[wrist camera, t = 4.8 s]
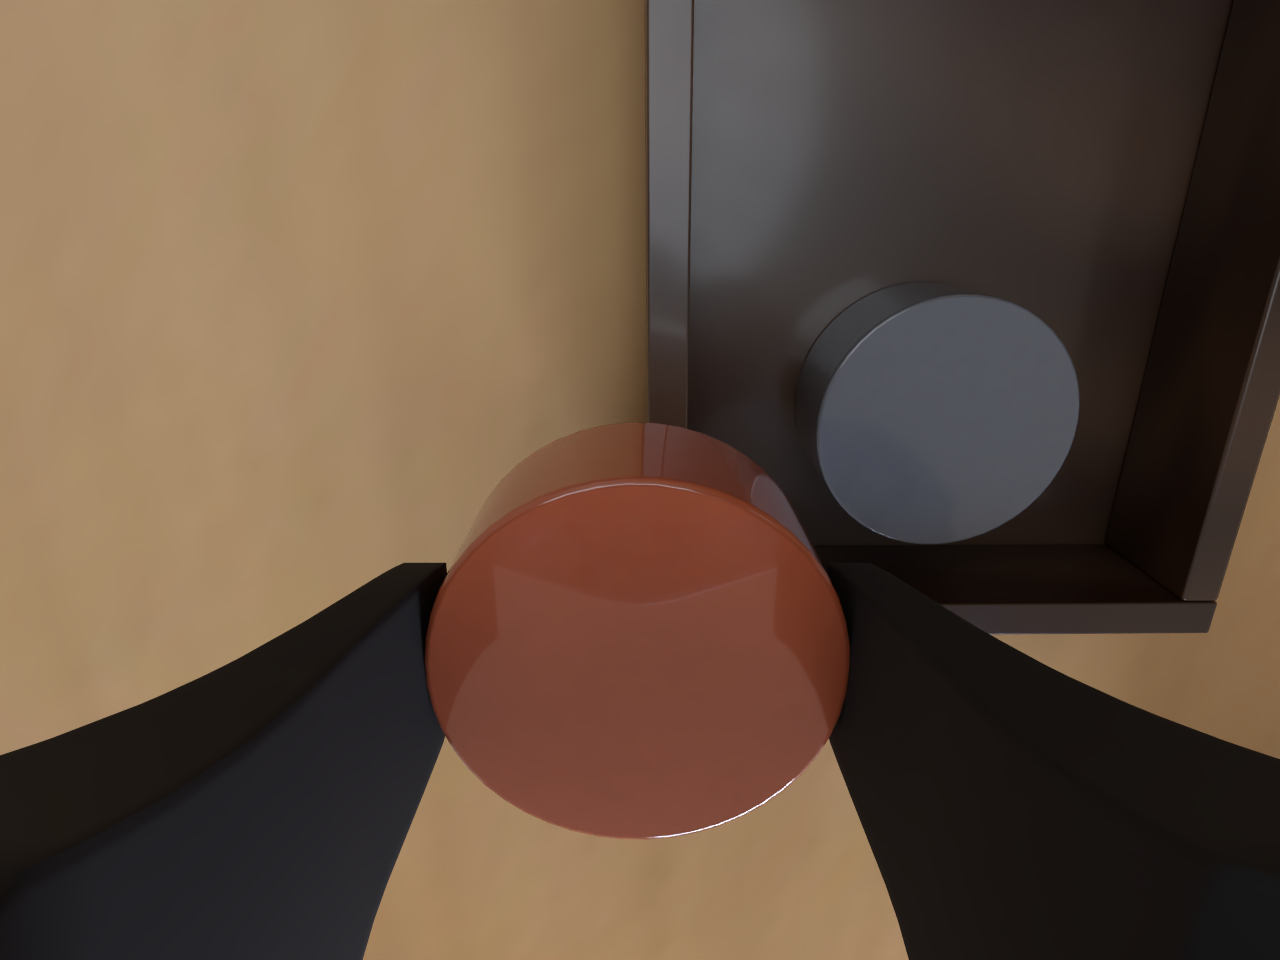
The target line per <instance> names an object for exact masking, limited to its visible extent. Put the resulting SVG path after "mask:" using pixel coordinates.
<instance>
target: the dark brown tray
mask: <svg viewBox="0 0 1280 960" xmlns="http://www.w3.org/2000/svg"><path fill="white" fill-rule="evenodd" d="M645 149H646V355H647V423H657V424H664V425H671V426H677V427H682V428H685V429H689V430H692V431H696V432H699V433H703V434H705V435H708V436H710V437H712V438H715V439H717V440H719V441H722V442H724V443H726V444H728V445H729V446H731V447H733V448H734V449H736V450H738V451H739V452H741V453H743V454H745V455H746V456H747V457H749V458H750V459H751V460H752V461H754V462H755V463H756V464H757V465H759V466H760V467H761V468H762V469H764V470H765V471H766V472H767V473H768V475H769V476H770V477H771V478H772V479H773V480H774V481H775V482H776V483H777V484H778V485H779V486H780V487H781V489H782V490H783V492H784V493H785V494H786V496H787V497H788V499H789V500H790V501H791V503H792V504H793V506H794V508H795V510H796V512H797V514H798V516H799V518H800V520H801V522H802V524H803V526H804V528H805V530H806V532H807V534H808V536H809V538H810V540H811V542H812V544H813V546H814V548H815V550H816V552H817V554H818V556H819V558H820V560H821V562H822V564H823V566H824V568H825V570H826V572H827V564H828V563H871V564H873V565H876V566H878V567H880V568H881V569H883V570H885V571H887V572H889V573H890V574H892V575H894V576H895V577H897V578H899V579H900V580H902V581H904V582H905V583H907V584H908V585H910V586H912V587H913V588H915V589H916V590H918V591H919V592H921V593H923V594H924V595H926V596H927V597H929V598H931V599H932V600H934V601H935V602H937V603H939V604H940V605H942V606H943V607H945V608H946V609H948V610H950V611H951V612H953V613H955V614H956V615H958V616H959V617H961V618H963V619H964V620H966V621H968V622H969V623H971V624H973V625H974V626H976V627H978V628H979V629H981V630H983V631H985V632H986V633H988V634H1102V633H1207V632H1208V631H1209V628H1210V625H1211V621H1212V618H1213V615H1214V612H1215V608H1216V605H1217V603H1216V602H1215V600H1216V599H1217V598H1218V595H1219V592H1220V588H1221V585H1222V582H1223V579H1224V575H1225V572H1226V569H1227V566H1228V562H1229V559H1230V556H1231V552H1232V549H1233V546H1234V543H1235V539H1236V536H1237V533H1238V530H1239V526H1240V523H1241V520H1242V517H1243V513H1244V510H1245V507H1246V503H1247V500H1248V497H1249V494H1250V490H1251V487H1252V484H1253V481H1254V477H1255V474H1256V471H1257V467H1258V464H1259V461H1260V458H1261V454H1262V451H1263V448H1264V445H1265V441H1266V438H1267V435H1268V432H1269V428H1270V425H1271V422H1272V418H1273V415H1274V412H1275V409H1276V405H1277V402H1278V399H1279V396H1280V0H645ZM911 282H940V283H946V284H952V285H956V286H959V287H963V288H967V289H970V290H974V291H977V292H981V293H985V294H988V295H992V296H996V297H999V298H1002V299H1006V300H1009V301H1012V302H1014V303H1016V304H1018V305H1020V306H1023V307H1025V308H1027V309H1028V310H1030V311H1031V312H1033V313H1034V314H1036V315H1037V316H1039V317H1040V318H1041V319H1042V320H1043V321H1045V322H1046V323H1047V324H1048V325H1049V326H1050V327H1051V328H1052V329H1053V330H1054V332H1055V333H1056V334H1057V335H1058V337H1059V338H1060V339H1061V341H1062V342H1063V344H1064V346H1065V347H1066V349H1067V351H1068V353H1069V355H1070V357H1071V360H1072V363H1073V365H1074V368H1075V371H1076V375H1077V380H1078V385H1079V399H1080V407H1079V417H1078V424H1077V428H1076V432H1075V437H1074V440H1073V442H1072V445H1071V448H1070V450H1069V453H1068V455H1067V457H1066V459H1065V461H1064V463H1063V465H1062V467H1061V468H1060V470H1059V471H1058V473H1057V474H1056V476H1055V477H1054V479H1053V480H1052V482H1051V483H1050V484H1049V485H1048V487H1047V488H1046V489H1045V490H1044V491H1043V493H1042V494H1041V495H1040V496H1039V497H1038V498H1037V499H1036V500H1035V501H1034V502H1033V503H1032V504H1030V505H1029V506H1028V507H1027V508H1026V509H1025V510H1023V511H1022V512H1021V513H1019V514H1018V515H1017V516H1015V517H1014V518H1013V519H1011V520H1009V521H1008V522H1006V523H1004V524H1003V525H1001V526H999V527H997V528H995V529H993V530H991V531H989V532H986V533H984V534H982V535H979V536H976V537H973V538H970V539H966V540H962V541H957V542H953V543H944V544H915V543H907V542H901V541H898V540H894V539H890V538H887V537H885V536H882V535H880V534H877V533H875V532H873V531H871V530H870V529H868V528H866V527H864V526H863V525H861V524H860V523H858V522H857V521H856V520H855V519H853V518H852V517H851V516H850V515H849V514H848V513H847V512H846V511H845V510H844V509H843V508H842V507H841V506H840V505H839V504H838V502H837V501H836V499H835V498H834V496H833V495H832V494H831V492H830V491H829V489H828V488H827V486H826V485H825V483H824V481H823V480H822V478H821V477H820V475H819V474H818V472H817V471H816V469H815V468H814V466H813V465H812V463H811V462H810V460H809V458H808V456H807V454H806V452H805V450H804V449H803V447H802V444H801V441H800V438H799V435H798V430H797V425H796V419H795V398H796V389H797V385H798V381H799V376H800V373H801V371H802V368H803V365H804V362H805V360H806V358H807V356H808V354H809V352H810V350H811V348H812V347H813V345H814V344H815V342H816V341H817V339H818V338H819V336H820V335H821V334H822V333H823V331H824V330H825V329H826V328H827V327H828V326H829V324H830V323H831V322H832V321H833V320H834V319H836V318H837V317H838V316H839V315H840V314H841V313H842V312H843V311H845V310H846V309H847V308H849V307H850V306H852V305H853V304H854V303H856V302H857V301H859V300H861V299H863V298H865V297H866V296H868V295H870V294H872V293H875V292H877V291H880V290H882V289H885V288H887V287H891V286H895V285H899V284H903V283H911Z"/></svg>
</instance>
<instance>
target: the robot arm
mask: <svg viewBox="0 0 1280 960" xmlns="http://www.w3.org/2000/svg"><path fill="white" fill-rule="evenodd" d="M827 574H828V576H829V578H830V580H831V582H832V584H833V586H834V588H835V590H836V592H837V594H838V596H839V599H840V602H841V605H842V608H843V611H844V614H845V617H846V620H847V626H848V632H849V638H850V666H849V675H848V683H847V691H846V696H845V700H844V703H843V706H842V710H841V713H840V716H839V718H838V720H837V722H836V724H835V727H834V729H833V731H832V733H831V735H830V737H829V740H830V743H831V746H832V749H833V751H834V754H835V757H836V759H837V762H838V764H839V767H840V770H841V772H842V775H843V777H844V780H845V783H846V785H847V788H848V790H849V793H850V796H851V798H852V801H853V803H854V806H855V808H856V811H857V813H858V816H859V818H860V821H861V823H862V826H863V829H864V831H865V834H866V836H867V839H868V841H869V844H870V846H871V849H872V851H873V854H874V857H875V859H876V862H877V864H878V867H879V869H880V872H881V874H882V877H883V879H884V882H885V884H886V887H887V890H888V893H889V896H890V899H891V902H892V905H893V908H894V910H895V913H896V916H897V919H898V923H899V926H900V930H901V933H902V937H903V940H904V944H905V947H906V951H907V954H908V958H909V960H1280V759H1277V758H1274V757H1271V756H1268V755H1265V754H1262V753H1259V752H1256V751H1253V750H1250V749H1247V748H1244V747H1241V746H1238V745H1235V744H1232V743H1229V742H1227V741H1224V740H1221V739H1218V738H1216V737H1213V736H1210V735H1208V734H1205V733H1202V732H1200V731H1197V730H1194V729H1192V728H1189V727H1186V726H1184V725H1181V724H1178V723H1176V722H1173V721H1170V720H1168V719H1165V718H1162V717H1160V716H1157V715H1155V714H1152V713H1150V712H1147V711H1145V710H1143V709H1140V708H1138V707H1135V706H1133V705H1130V704H1128V703H1126V702H1123V701H1121V700H1119V699H1117V698H1114V697H1112V696H1110V695H1108V694H1106V693H1103V692H1101V691H1099V690H1097V689H1095V688H1092V687H1090V686H1088V685H1086V684H1084V683H1081V682H1079V681H1077V680H1075V679H1073V678H1071V677H1068V676H1066V675H1064V674H1062V673H1060V672H1058V671H1056V670H1054V669H1052V668H1050V667H1048V666H1046V665H1044V664H1042V663H1041V662H1039V661H1037V660H1035V659H1033V658H1031V657H1029V656H1028V655H1026V654H1024V653H1022V652H1020V651H1018V650H1017V649H1015V648H1013V647H1011V646H1009V645H1007V644H1006V643H1004V642H1002V641H1000V640H998V639H997V638H995V637H993V636H991V635H990V634H988V633H986V632H985V631H983V630H981V629H979V628H978V627H976V626H974V625H973V624H971V623H969V622H968V621H966V620H964V619H963V618H961V617H959V616H958V615H956V614H955V613H953V612H951V611H950V610H948V609H946V608H945V607H943V606H942V605H940V604H939V603H937V602H935V601H934V600H932V599H931V598H929V597H927V596H926V595H924V594H923V593H921V592H919V591H918V590H916V589H915V588H913V587H912V586H910V585H908V584H907V583H905V582H904V581H902V580H900V579H899V578H897V577H895V576H894V575H892V574H890V573H889V572H887V571H885V570H883V569H881V568H880V567H878V566H876V565H873V564H871V563H828V564H827ZM446 575H447V568H446V563H403V564H401V565H398V566H396V567H394V568H392V569H390V570H389V571H387V572H385V573H383V574H381V575H380V576H378V577H376V578H375V579H373V580H371V581H370V582H368V583H367V584H365V585H363V586H362V587H360V588H358V589H357V590H355V591H354V592H352V593H350V594H349V595H347V596H345V597H344V598H342V599H341V600H339V601H337V602H336V603H334V604H332V605H331V606H329V607H328V608H326V609H324V610H323V611H321V612H319V613H318V614H316V615H314V616H313V617H311V618H310V619H308V620H306V621H305V622H303V623H301V624H299V625H298V626H296V627H294V628H292V629H290V630H289V631H287V632H285V633H283V634H282V635H280V636H278V637H276V638H274V639H273V640H271V641H269V642H267V643H265V644H264V645H262V646H260V647H258V648H256V649H255V650H253V651H251V652H249V653H248V654H246V655H244V656H242V657H240V658H238V659H237V660H235V661H233V662H231V663H229V664H227V665H225V666H223V667H221V668H219V669H217V670H215V671H213V672H211V673H209V674H207V675H204V676H202V677H200V678H198V679H196V680H194V681H192V682H189V683H187V684H185V685H183V686H181V687H178V688H176V689H174V690H172V691H170V692H167V693H165V694H163V695H161V696H159V697H156V698H154V699H152V700H149V701H147V702H144V703H142V704H140V705H137V706H134V707H132V708H129V709H127V710H124V711H121V712H119V713H116V714H114V715H111V716H108V717H106V718H103V719H101V720H98V721H95V722H93V723H90V724H88V725H85V726H82V727H80V728H77V729H75V730H72V731H69V732H67V733H64V734H61V735H59V736H56V737H54V738H51V739H48V740H45V741H42V742H39V743H37V744H33V745H30V746H27V747H24V748H21V749H18V750H15V751H12V752H9V753H6V754H3V755H0V960H362V959H363V956H364V953H365V949H366V946H367V942H368V939H369V935H370V932H371V928H372V925H373V922H374V919H375V916H376V913H377V910H378V907H379V905H380V902H381V899H382V896H383V893H384V890H385V888H386V885H387V882H388V880H389V877H390V875H391V872H392V870H393V867H394V865H395V862H396V860H397V858H398V855H399V853H400V850H401V848H402V845H403V843H404V840H405V838H406V835H407V833H408V830H409V828H410V825H411V823H412V820H413V818H414V815H415V813H416V810H417V808H418V805H419V803H420V801H421V798H422V796H423V793H424V791H425V788H426V786H427V783H428V780H429V778H430V775H431V773H432V770H433V768H434V765H435V763H436V760H437V758H438V755H439V752H440V750H441V747H442V744H443V742H444V738H445V734H444V733H443V731H442V729H441V727H440V724H439V722H438V719H437V717H436V715H435V712H434V710H433V707H432V703H431V699H430V695H429V691H428V687H427V681H426V671H425V661H424V652H425V635H426V631H427V626H428V621H429V617H430V612H431V609H432V607H433V604H434V602H435V599H436V596H437V594H438V591H439V589H440V587H441V585H442V583H443V581H444V579H445V577H446Z"/></svg>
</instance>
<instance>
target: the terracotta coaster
mask: <svg viewBox="0 0 1280 960" xmlns="http://www.w3.org/2000/svg"><path fill="white" fill-rule="evenodd" d="M424 661H425V671H426V681H427V687H428V691H429V695H430V699H431V703H432V707H433V710H434V712H435V715H436V717H437V719H438V722H439V724H440V727H441V729H442V731H443V733H444V734H445V736H446V738H447V739H448V741H449V743H450V744H451V746H452V748H453V750H454V751H455V752H456V753H457V755H458V756H459V757H460V758H461V760H462V761H463V762H464V764H465V765H466V766H467V767H468V769H469V770H470V771H472V772H473V773H474V774H475V775H476V776H477V777H478V778H479V779H480V780H481V781H482V782H483V783H484V784H485V785H486V786H487V787H489V788H490V789H491V790H492V791H494V792H495V793H496V794H498V795H499V796H500V797H502V798H503V799H504V800H506V801H507V802H509V803H511V804H512V805H514V806H516V807H517V808H519V809H521V810H522V811H524V812H526V813H528V814H530V815H532V816H535V817H537V818H539V819H541V820H543V821H546V822H548V823H551V824H554V825H557V826H560V827H563V828H566V829H569V830H572V831H576V832H581V833H585V834H590V835H594V836H601V837H610V838H618V839H655V838H667V837H675V836H680V835H685V834H691V833H696V832H699V831H703V830H706V829H710V828H713V827H716V826H720V825H722V824H725V823H727V822H729V821H732V820H734V819H737V818H739V817H741V816H744V815H745V814H747V813H749V812H751V811H753V810H754V809H756V808H758V807H760V806H762V805H764V804H765V803H766V802H768V801H769V800H771V799H772V798H774V797H775V796H776V795H778V794H779V793H781V792H782V791H783V790H785V789H786V788H787V787H788V786H789V785H790V784H791V783H792V782H793V781H795V780H796V779H797V778H798V777H799V776H800V775H801V774H802V773H803V772H804V771H805V770H806V768H807V767H808V766H809V765H810V764H811V763H812V761H813V760H814V759H815V758H816V757H817V755H818V754H819V752H820V751H821V749H822V748H823V746H824V745H825V743H826V742H827V740H828V739H829V737H830V735H831V733H832V731H833V729H834V727H835V724H836V722H837V720H838V718H839V716H840V713H841V710H842V706H843V703H844V700H845V696H846V691H847V683H848V675H849V666H850V638H849V632H848V626H847V620H846V617H845V614H844V611H843V608H842V605H841V602H840V599H839V596H838V594H837V592H836V590H835V588H834V586H833V584H832V582H831V580H830V578H829V576H828V574H827V572H826V570H825V568H824V566H823V564H822V562H821V560H820V558H819V556H818V554H817V552H816V550H815V548H814V546H813V544H812V542H811V540H810V538H809V536H808V534H807V532H806V530H805V528H804V526H803V524H802V522H801V520H800V518H799V516H798V514H797V512H796V510H795V508H794V506H793V504H792V503H791V501H790V500H789V499H788V497H787V496H786V494H785V493H784V492H783V490H782V489H781V487H780V486H779V485H778V484H777V483H776V482H775V481H774V480H773V479H772V478H771V477H770V476H769V475H768V473H767V472H766V471H765V470H764V469H762V468H761V467H760V466H759V465H757V464H756V463H755V462H754V461H752V460H751V459H750V458H749V457H747V456H746V455H745V454H743V453H741V452H739V451H738V450H736V449H734V448H733V447H731V446H729V445H728V444H726V443H724V442H722V441H719V440H717V439H715V438H712V437H710V436H708V435H705V434H703V433H699V432H696V431H692V430H689V429H685V428H682V427H677V426H671V425H664V424H657V423H621V424H611V425H603V426H599V427H595V428H591V429H586V430H582V431H579V432H576V433H574V434H571V435H568V436H566V437H563V438H560V439H558V440H556V441H554V442H552V443H550V444H548V445H547V446H545V447H543V448H541V449H539V450H537V451H536V452H534V453H533V454H532V455H530V456H529V457H527V458H526V459H525V460H523V461H522V462H521V463H519V464H518V465H517V466H516V467H515V468H514V469H513V470H511V471H510V472H509V473H508V474H507V475H506V476H505V477H504V478H503V479H502V480H501V481H500V483H499V484H498V485H497V486H496V488H495V489H494V490H493V491H492V493H491V494H490V495H489V496H488V498H487V500H486V501H485V503H484V505H483V506H482V508H481V510H480V512H479V513H478V515H477V517H476V519H475V521H474V523H473V525H472V527H471V529H470V530H469V532H468V534H467V536H466V538H465V540H464V542H463V544H462V546H461V548H460V550H459V552H458V554H457V556H456V558H455V559H454V561H453V563H452V565H451V567H450V569H449V571H448V573H447V575H446V577H445V579H444V581H443V583H442V585H441V587H440V589H439V591H438V594H437V596H436V599H435V602H434V604H433V607H432V609H431V612H430V617H429V621H428V626H427V631H426V635H425V652H424Z"/></svg>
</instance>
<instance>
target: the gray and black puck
mask: <svg viewBox="0 0 1280 960" xmlns="http://www.w3.org/2000/svg"><path fill="white" fill-rule="evenodd" d="M1079 407H1080V399H1079V385H1078V380H1077V375H1076V371H1075V368H1074V365H1073V363H1072V360H1071V357H1070V355H1069V353H1068V351H1067V349H1066V347H1065V346H1064V344H1063V342H1062V341H1061V339H1060V338H1059V337H1058V335H1057V334H1056V333H1055V332H1054V330H1053V329H1052V328H1051V327H1050V326H1049V325H1048V324H1047V323H1046V322H1045V321H1043V320H1042V319H1041V318H1040V317H1039V316H1037V315H1036V314H1034V313H1033V312H1031V311H1030V310H1028V309H1027V308H1025V307H1023V306H1020V305H1018V304H1016V303H1014V302H1012V301H1009V300H1006V299H1002V298H999V297H996V296H992V295H988V294H985V293H981V292H977V291H974V290H970V289H967V288H963V287H959V286H956V285H952V284H946V283H940V282H911V283H903V284H899V285H895V286H891V287H887V288H885V289H882V290H880V291H877V292H875V293H872V294H870V295H868V296H866V297H865V298H863V299H861V300H859V301H857V302H856V303H854V304H853V305H852V306H850V307H849V308H847V309H846V310H845V311H843V312H842V313H841V314H840V315H839V316H838V317H837V318H836V319H834V320H833V321H832V322H831V323H830V324H829V326H828V327H827V328H826V329H825V330H824V331H823V333H822V334H821V335H820V336H819V338H818V339H817V341H816V342H815V344H814V345H813V347H812V348H811V350H810V352H809V354H808V356H807V358H806V360H805V362H804V365H803V368H802V371H801V373H800V376H799V381H798V385H797V389H796V398H795V419H796V425H797V430H798V435H799V438H800V441H801V444H802V447H803V449H804V450H805V452H806V454H807V456H808V458H809V460H810V462H811V463H812V465H813V466H814V468H815V469H816V471H817V472H818V474H819V475H820V477H821V478H822V480H823V481H824V483H825V485H826V486H827V488H828V489H829V491H830V492H831V494H832V495H833V496H834V498H835V499H836V501H837V502H838V504H839V505H840V506H841V507H842V508H843V509H844V510H845V511H846V512H847V513H848V514H849V515H850V516H851V517H852V518H853V519H855V520H856V521H857V522H858V523H860V524H861V525H863V526H864V527H866V528H868V529H870V530H871V531H873V532H875V533H877V534H880V535H882V536H885V537H887V538H890V539H894V540H898V541H901V542H907V543H915V544H944V543H953V542H957V541H962V540H966V539H970V538H973V537H976V536H979V535H982V534H984V533H986V532H989V531H991V530H993V529H995V528H997V527H999V526H1001V525H1003V524H1004V523H1006V522H1008V521H1009V520H1011V519H1013V518H1014V517H1015V516H1017V515H1018V514H1019V513H1021V512H1022V511H1023V510H1025V509H1026V508H1027V507H1028V506H1029V505H1030V504H1032V503H1033V502H1034V501H1035V500H1036V499H1037V498H1038V497H1039V496H1040V495H1041V494H1042V493H1043V491H1044V490H1045V489H1046V488H1047V487H1048V485H1049V484H1050V483H1051V482H1052V480H1053V479H1054V477H1055V476H1056V474H1057V473H1058V471H1059V470H1060V468H1061V467H1062V465H1063V463H1064V461H1065V459H1066V457H1067V455H1068V453H1069V450H1070V448H1071V445H1072V442H1073V440H1074V437H1075V432H1076V428H1077V424H1078V417H1079Z"/></svg>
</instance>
